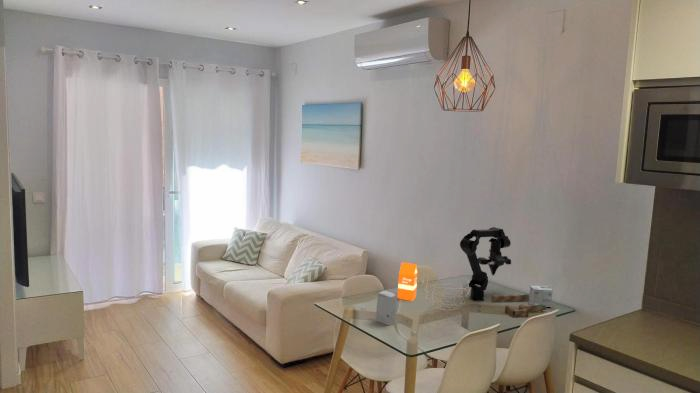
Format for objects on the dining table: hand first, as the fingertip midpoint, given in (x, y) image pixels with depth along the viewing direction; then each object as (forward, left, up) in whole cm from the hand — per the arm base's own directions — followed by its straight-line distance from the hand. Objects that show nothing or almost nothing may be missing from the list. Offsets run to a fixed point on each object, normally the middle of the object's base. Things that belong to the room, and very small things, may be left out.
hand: (493, 275), depth 295 cm
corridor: (+7, -22, -12) cm, 26 cm away
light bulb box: (+20, -19, -12) cm, 30 cm away
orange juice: (-52, -1, -12) cm, 53 cm away
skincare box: (-73, -34, -12) cm, 81 cm away
